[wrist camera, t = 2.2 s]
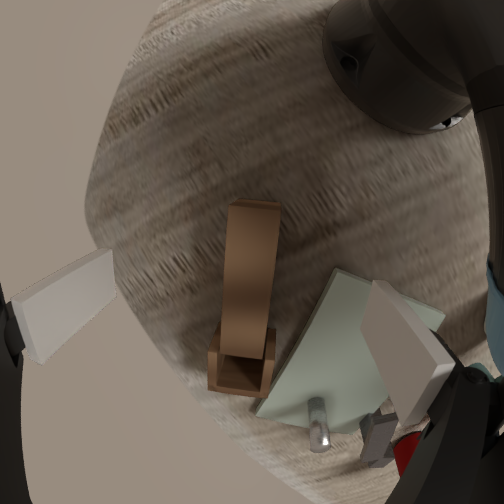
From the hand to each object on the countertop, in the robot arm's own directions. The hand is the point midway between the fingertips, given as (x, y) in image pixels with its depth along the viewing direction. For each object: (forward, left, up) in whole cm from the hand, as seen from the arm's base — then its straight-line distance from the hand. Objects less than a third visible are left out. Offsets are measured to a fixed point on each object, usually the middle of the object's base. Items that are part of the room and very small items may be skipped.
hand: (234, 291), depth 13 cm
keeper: (+13, +19, -11) cm, 26 cm away
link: (+5, +1, -11) cm, 13 cm away
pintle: (+15, +13, -10) cm, 22 cm away
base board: (+10, +15, -11) cm, 21 cm away
